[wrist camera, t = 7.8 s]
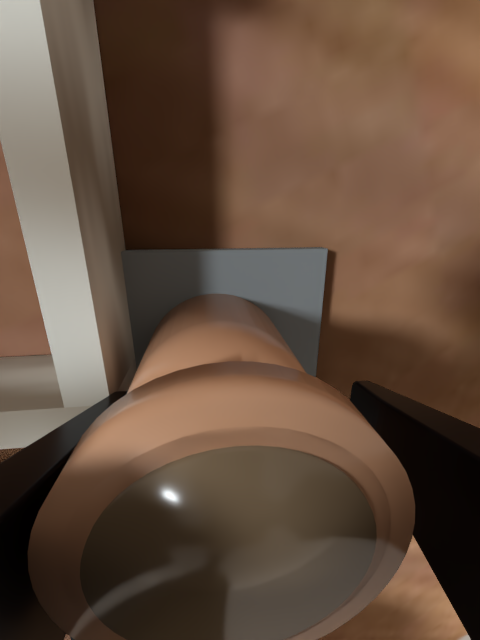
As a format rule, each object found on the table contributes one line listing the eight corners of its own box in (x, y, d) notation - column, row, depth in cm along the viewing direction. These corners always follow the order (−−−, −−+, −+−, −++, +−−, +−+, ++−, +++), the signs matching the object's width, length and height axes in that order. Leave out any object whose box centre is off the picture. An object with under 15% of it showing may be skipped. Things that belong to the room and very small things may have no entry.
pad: (305, 425, 13) (310, 434, 13) (125, 440, 12) (122, 450, 12) (321, 247, 11) (327, 249, 10) (95, 250, 10) (88, 252, 9)
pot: (286, 415, 12) (385, 647, 6) (146, 426, 12) (69, 704, 5) (295, 280, 10) (460, 387, 4) (128, 284, 10) (-37, 424, 3)
